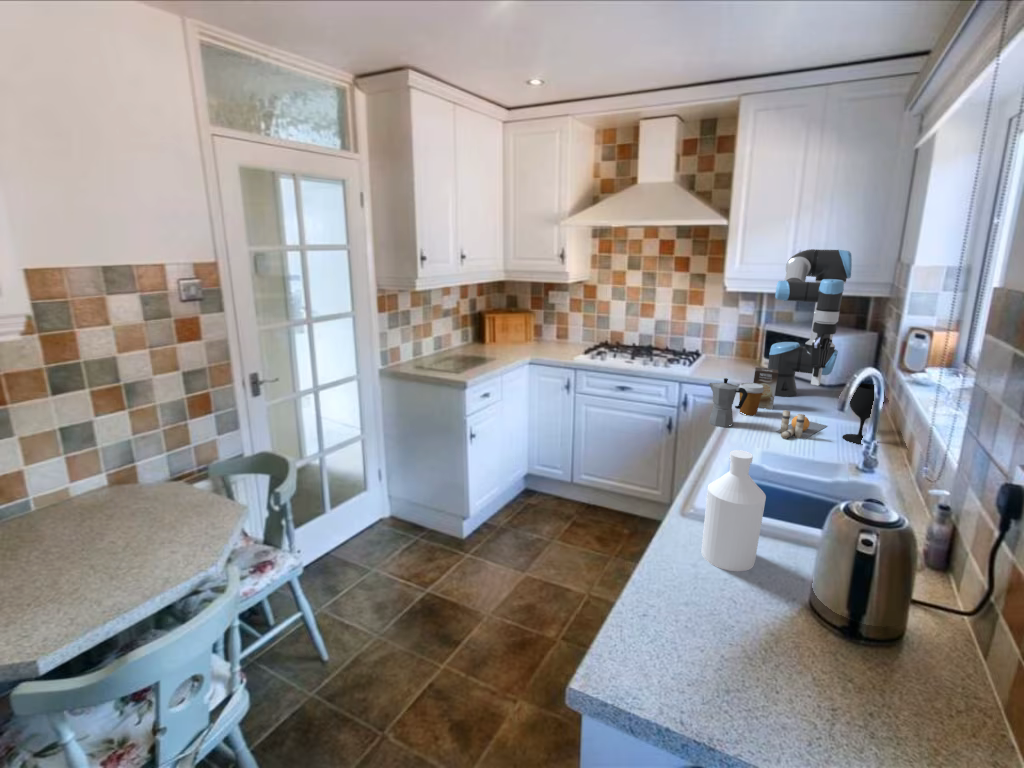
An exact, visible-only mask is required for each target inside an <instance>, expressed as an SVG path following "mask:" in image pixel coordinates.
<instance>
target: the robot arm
mask: <svg viewBox="0 0 1024 768" xmlns="http://www.w3.org/2000/svg"><path fill="white" fill-rule="evenodd" d="M852 261H853V259H852V253H851V251H850V250H844V249H816V248H815V249H814V248H811V249H806V250H802V251H800V252H797V253H796V254H793V256H791V257H790V258H789V259H788V260H787V263H786V265H785V272H786V273H785V277H784V280H779V281H777V283H776V288H775V297H774V298H775V299H776V300H779V301H784V302H806V303H815V306H814V312H813V318H812V325H811V330H810V337H809V340H806V342H805V344H804V346H801V345H800V343H799V342H796V341H782V342H781V341H780V342H776V343H773V344H772V345H771V346H770V349H769V354H768V355H769V356H768V357H769V358H768V363H767V369H774V370H778V378H777V384H776V390H775V396H778V397H794V396H796V395H797V391H798V390H797V389H798V388H797V384H796V377H795V376H796V373H801V374H812V375H811V380H810V385H813V386H820V385H821V380H822V376H828V375H830V374H831V373H832V372H833V369H834V368H835V363H836V360H837V357H838V354H839V350H838V349H835V348H836V345H835V343H834V342H833V338H834V337H833V335H836V333H837V327H838V324H837V323H838V322H839V317H840V312H841V310H840V308H841V304H842V298H843V293H844V289H845V287H844V286H845V284H846V283H847V279H848V280H849V279H850V278H852ZM807 277H811V278H812V277H813V278H815V279H814V281H806V279H807Z"/></svg>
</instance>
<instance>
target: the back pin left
mask: <svg viewBox="0 0 1024 768" xmlns="http://www.w3.org/2000/svg"><path fill="white" fill-rule="evenodd" d="M796 416H797V420H796V428H795V434H794V438H796V439H800V438H801V437H802V431H803V425H804V420H805V417H806V414H804V413H798V414H797V415H796Z"/></svg>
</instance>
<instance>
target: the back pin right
mask: <svg viewBox="0 0 1024 768" xmlns="http://www.w3.org/2000/svg"><path fill="white" fill-rule="evenodd" d="M790 418H791V411H790V410H786V409H785V410H784V409H783V411H782V414H781V423H780V429H779V430H780V433H779V434H781V433H783V432H784V431H787V430H788V425H789V423H790Z"/></svg>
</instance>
